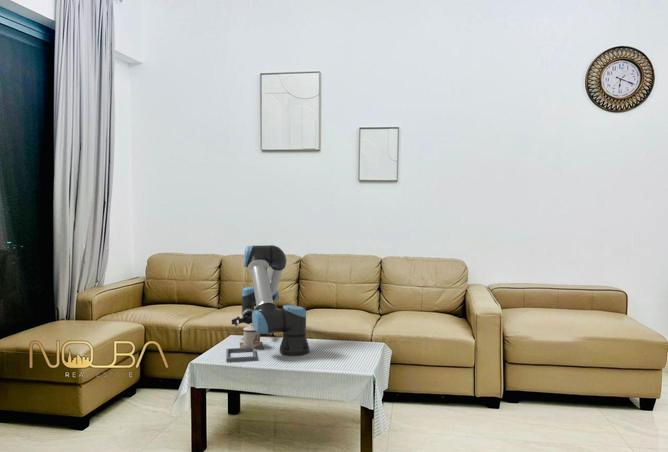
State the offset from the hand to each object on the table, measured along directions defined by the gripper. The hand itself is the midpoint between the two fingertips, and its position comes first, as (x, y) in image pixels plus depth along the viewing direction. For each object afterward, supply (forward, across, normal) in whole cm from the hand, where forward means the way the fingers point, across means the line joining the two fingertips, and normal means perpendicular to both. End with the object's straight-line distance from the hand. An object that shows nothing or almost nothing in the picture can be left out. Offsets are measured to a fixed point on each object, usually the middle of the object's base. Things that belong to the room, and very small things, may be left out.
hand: (250, 324), depth 275 cm
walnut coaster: (+10, 0, -9) cm, 13 cm away
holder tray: (+28, +6, -9) cm, 30 cm away
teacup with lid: (+10, -1, -9) cm, 13 cm away
